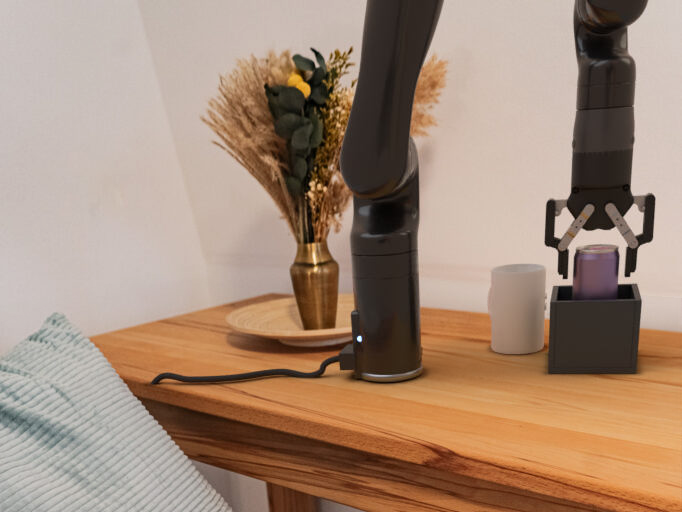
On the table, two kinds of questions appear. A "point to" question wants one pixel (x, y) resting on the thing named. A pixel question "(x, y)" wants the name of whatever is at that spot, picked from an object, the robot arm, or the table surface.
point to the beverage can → (595, 272)
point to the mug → (517, 308)
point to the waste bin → (594, 332)
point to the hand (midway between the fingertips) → (595, 277)
